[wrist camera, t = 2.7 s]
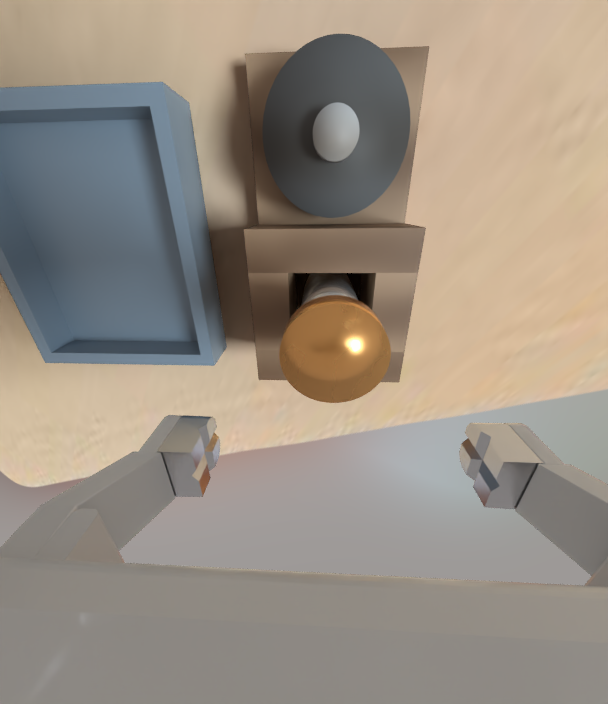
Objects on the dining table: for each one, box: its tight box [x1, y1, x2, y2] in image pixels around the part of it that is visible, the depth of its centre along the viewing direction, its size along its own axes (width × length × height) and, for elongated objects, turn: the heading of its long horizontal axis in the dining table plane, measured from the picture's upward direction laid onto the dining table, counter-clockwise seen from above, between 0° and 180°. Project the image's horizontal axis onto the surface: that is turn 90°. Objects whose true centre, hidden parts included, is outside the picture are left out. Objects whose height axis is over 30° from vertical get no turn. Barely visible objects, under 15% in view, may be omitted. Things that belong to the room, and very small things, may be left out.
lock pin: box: [279, 273, 391, 403], centre depth 18 cm, size 5×5×12 cm
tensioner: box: [244, 34, 429, 382], centre depth 19 cm, size 19×10×6 cm, turn 1°
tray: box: [0, 82, 227, 365], centre depth 21 cm, size 18×15×4 cm
